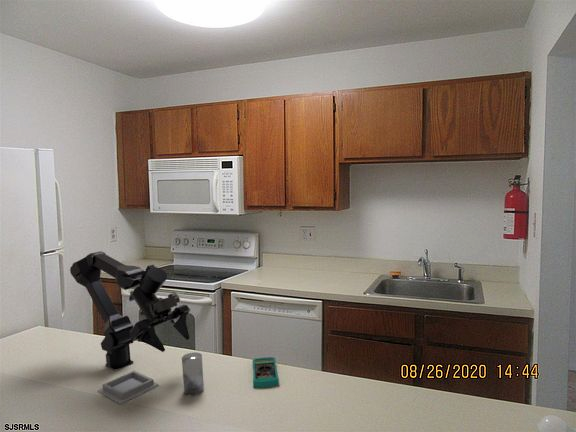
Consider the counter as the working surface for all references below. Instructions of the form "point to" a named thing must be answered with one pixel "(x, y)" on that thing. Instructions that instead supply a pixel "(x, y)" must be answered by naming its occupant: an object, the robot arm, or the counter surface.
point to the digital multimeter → (265, 372)
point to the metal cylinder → (192, 374)
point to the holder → (127, 387)
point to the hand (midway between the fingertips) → (176, 344)
